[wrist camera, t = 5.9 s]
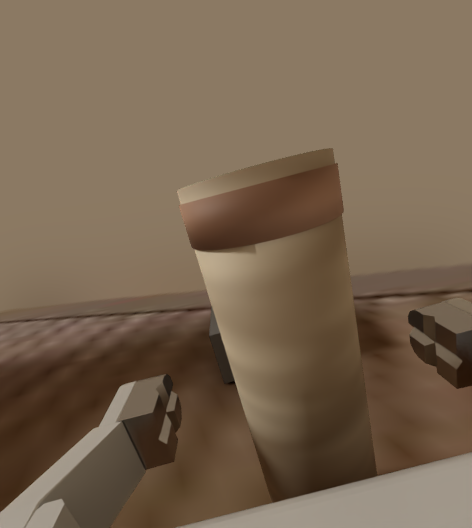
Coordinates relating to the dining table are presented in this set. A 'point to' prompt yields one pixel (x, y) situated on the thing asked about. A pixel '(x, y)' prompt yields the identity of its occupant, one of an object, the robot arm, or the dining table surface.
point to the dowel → (287, 316)
